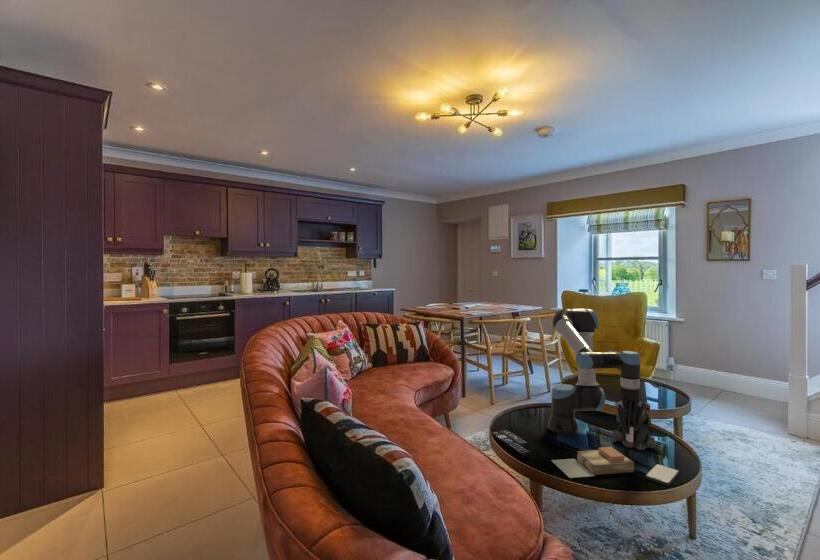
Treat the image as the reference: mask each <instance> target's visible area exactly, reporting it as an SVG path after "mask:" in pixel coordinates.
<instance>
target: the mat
mask: <svg viewBox="0 0 820 560" xmlns="http://www.w3.org/2000/svg"><path fill="white" fill-rule="evenodd" d="M551 462H552V463H553V464H554V465H555V466H556V468H558V469H559V470H560V471H561V472H563V474H564V475H566V477H568V478H569V479H576V478H590V477H595V475H594V474H593V473H592V472H591V471H590V470H588V469H587V468H586V467H585V466H584V465H582V464H581V463H580V462H579V461H578V460H577V459H575V458H565V459H562V458H561V459H551Z"/></svg>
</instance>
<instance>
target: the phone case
mask: <svg viewBox="0 0 820 560" xmlns="http://www.w3.org/2000/svg"><path fill="white" fill-rule="evenodd" d="M679 475H680V471H679V469H678V470H677V469H675V468H671V467H669V466H666V465H662V464H659V463H657V464H655V465H654V466H653V467H652V468H650V470H649V471H648V472H647V473H646V474H645V479H646V480H648V481H651V482H653V483H657V484H659V485H663V486H665V487H670V486H671V485H672V483H674V481H675V480H676V478H678V476H679Z"/></svg>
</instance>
